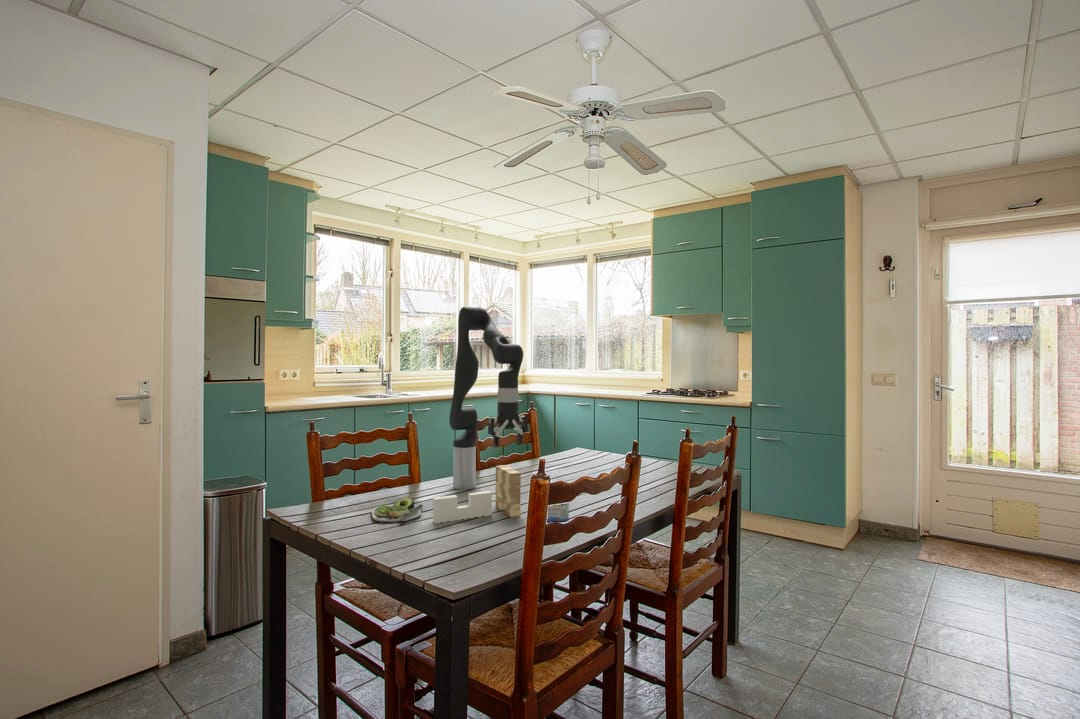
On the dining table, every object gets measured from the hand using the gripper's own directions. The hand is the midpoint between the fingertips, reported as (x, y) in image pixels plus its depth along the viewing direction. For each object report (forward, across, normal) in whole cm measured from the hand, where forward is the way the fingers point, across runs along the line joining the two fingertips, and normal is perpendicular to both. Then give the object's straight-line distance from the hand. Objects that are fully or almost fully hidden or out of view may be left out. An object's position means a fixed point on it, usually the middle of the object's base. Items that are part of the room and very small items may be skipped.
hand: (507, 445), depth 193 cm
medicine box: (+24, -11, +16) cm, 31 cm away
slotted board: (+23, +17, +1) cm, 29 cm away
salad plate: (+24, +36, -13) cm, 45 cm away
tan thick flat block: (+23, 0, 0) cm, 23 cm away
